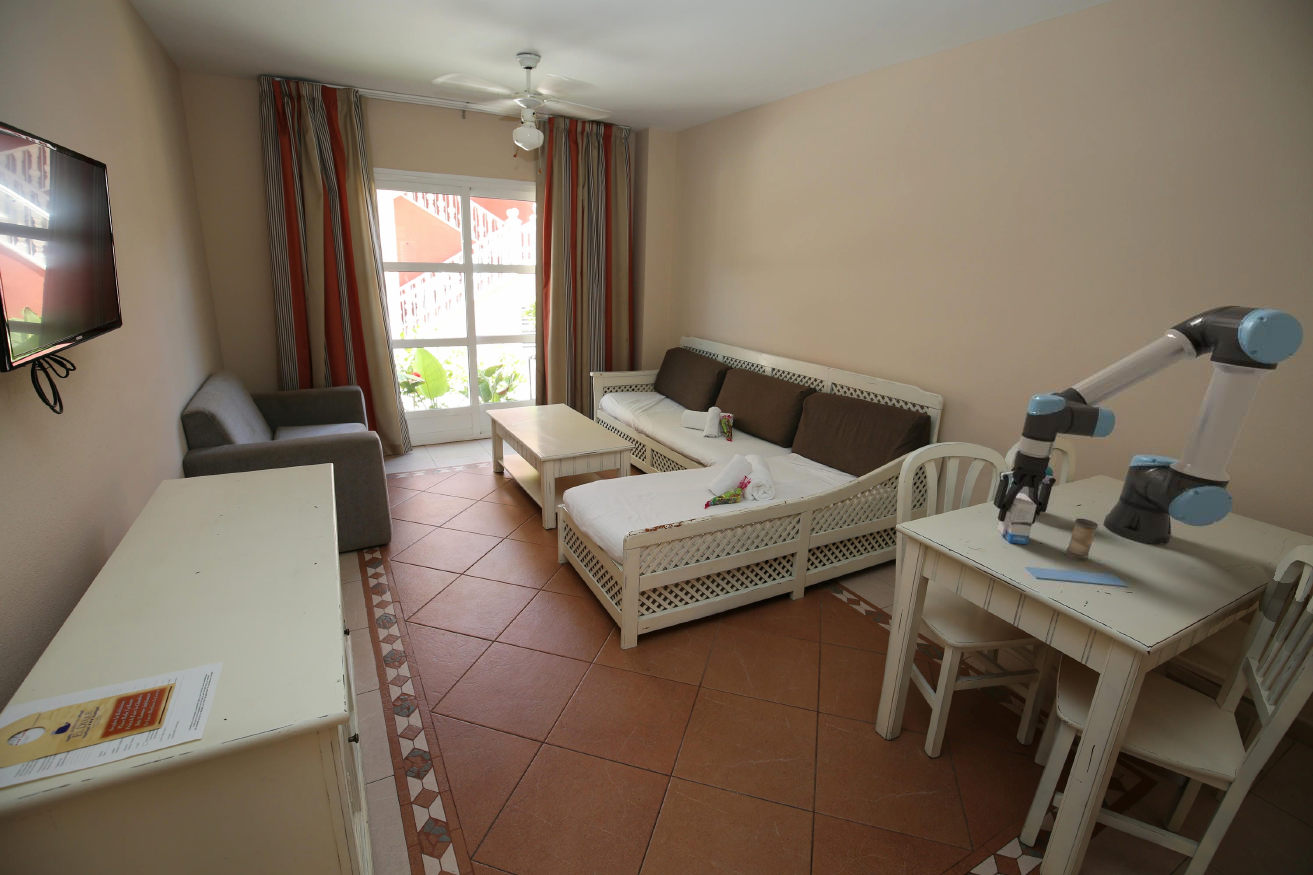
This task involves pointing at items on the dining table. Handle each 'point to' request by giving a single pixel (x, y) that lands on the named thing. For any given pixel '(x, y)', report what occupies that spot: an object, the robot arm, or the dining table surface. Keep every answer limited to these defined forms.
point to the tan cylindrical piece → (1081, 539)
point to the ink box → (1020, 519)
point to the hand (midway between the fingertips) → (1012, 532)
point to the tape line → (1076, 576)
